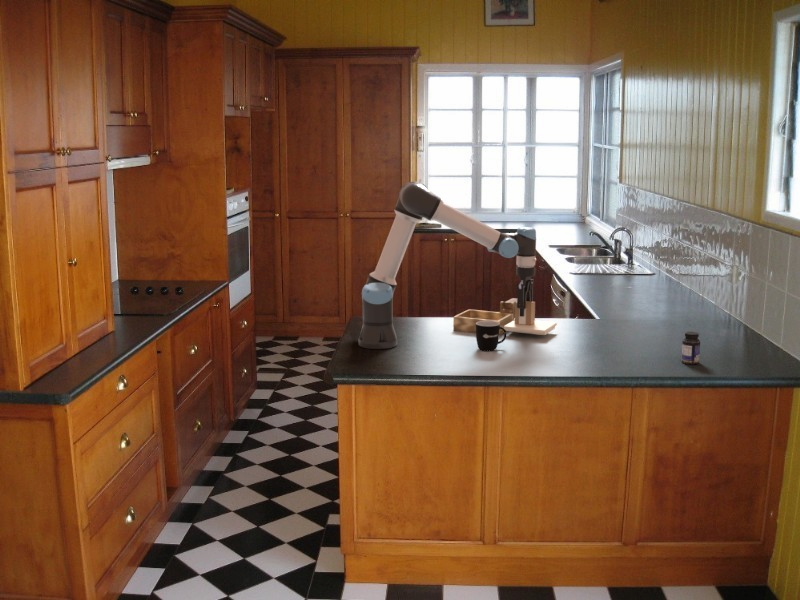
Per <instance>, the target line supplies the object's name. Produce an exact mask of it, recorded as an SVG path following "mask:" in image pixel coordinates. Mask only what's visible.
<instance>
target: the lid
mask: <svg viewBox="0 0 800 600" xmlns="http://www.w3.org/2000/svg"><path fill="white" fill-rule="evenodd" d="M525 308H526V324H519V308H517V302H515V308H514V321H512V322H510V323H508V324H507V325H505V326H504V329H505V331H506V332H514V333H522V334H531V335H532V334H533V335H538V336H539V335H540V336H541V335H542V336H546V335H548V334H549V333H551V332H552V331H554V330H555V328H556V327H557V322H555V321H545V320H544V321H543V320H536V315H535V314H536V301H533V302H532V301H526V305H525Z"/></svg>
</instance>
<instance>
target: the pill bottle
mask: <svg viewBox="0 0 800 600" xmlns="http://www.w3.org/2000/svg"><path fill="white" fill-rule="evenodd" d="M699 336H700V333H699V332H697V331H692V330H691V331H690V330H689V331H685V332H684V337H685V338H683V339H682V341H681V342H682V345H681V362H682V364H684V365H685V364H686V365H698V364H699V363H700V355H701V354H700V353H701V351H700V350H701V340H700V339H699Z"/></svg>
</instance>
